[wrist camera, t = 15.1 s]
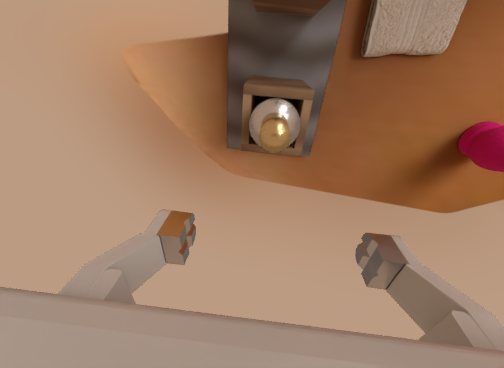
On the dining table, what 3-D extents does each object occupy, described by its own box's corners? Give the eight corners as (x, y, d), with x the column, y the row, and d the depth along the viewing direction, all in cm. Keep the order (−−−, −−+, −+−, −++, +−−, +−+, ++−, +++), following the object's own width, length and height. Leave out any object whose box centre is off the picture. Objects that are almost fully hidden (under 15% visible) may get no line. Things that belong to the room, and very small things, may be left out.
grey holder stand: (232, -136, 24) (195, -307, 12) (374, -127, 23) (470, -298, 12) (228, 145, 42) (212, 179, 31) (308, 153, 42) (321, 190, 30)
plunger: (257, 83, 33) (247, 104, 20) (295, 87, 32) (310, 110, 20) (254, 122, 36) (243, 161, 23) (289, 125, 36) (298, 167, 23)
